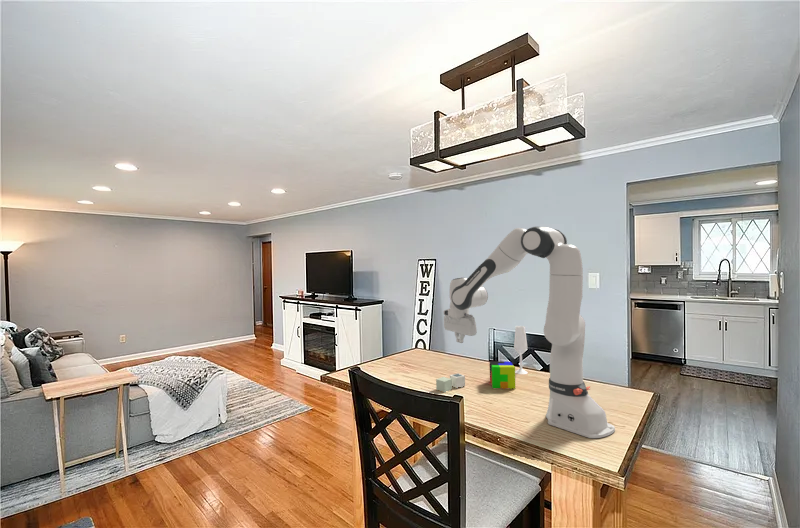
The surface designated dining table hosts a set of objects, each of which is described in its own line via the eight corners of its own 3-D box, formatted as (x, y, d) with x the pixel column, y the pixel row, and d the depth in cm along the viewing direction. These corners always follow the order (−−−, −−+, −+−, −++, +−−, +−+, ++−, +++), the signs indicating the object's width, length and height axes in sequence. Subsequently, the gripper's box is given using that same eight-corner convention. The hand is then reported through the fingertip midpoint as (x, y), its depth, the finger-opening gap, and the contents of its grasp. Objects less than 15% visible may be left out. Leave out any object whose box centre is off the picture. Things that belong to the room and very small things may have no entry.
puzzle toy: (511, 382, 177) (510, 361, 177) (515, 389, 167) (515, 367, 167) (489, 381, 178) (489, 361, 178) (493, 388, 168) (492, 367, 168)
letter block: (458, 372, 175) (458, 383, 175) (449, 374, 173) (450, 385, 173) (464, 375, 171) (465, 386, 171) (456, 377, 168) (456, 388, 168)
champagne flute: (529, 371, 193) (528, 326, 193) (525, 374, 187) (525, 328, 187) (516, 369, 197) (515, 325, 197) (512, 373, 191) (511, 327, 191)
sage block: (451, 390, 167) (451, 379, 167) (444, 392, 164) (444, 381, 164) (443, 387, 171) (443, 376, 171) (436, 390, 167) (436, 379, 167)
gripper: (479, 314, 162) (480, 345, 162) (451, 309, 180) (452, 338, 180) (468, 315, 159) (468, 347, 159) (441, 310, 177) (441, 339, 177)
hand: (459, 342), depth 169 cm, fingers closed
